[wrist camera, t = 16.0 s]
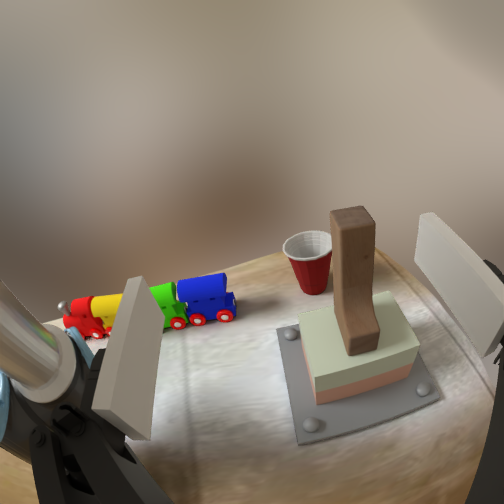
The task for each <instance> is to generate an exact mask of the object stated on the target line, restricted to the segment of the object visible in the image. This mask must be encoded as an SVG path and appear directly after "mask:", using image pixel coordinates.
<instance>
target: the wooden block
mask: <svg viewBox="0 0 504 504" xmlns="http://www.w3.org/2000/svg"><path fill="white" fill-rule="evenodd" d="M330 226H331V242H332V260H333V286H334V313H335V316H336V319H337V323H338V326H339V329H340V332H341V336H342V339H343V342H344V346H345V349H346V352H347V355H348V356H353V355H357V354H361V353H365V352H369V351H373V350H376V349H377V346H378V342H379V336H380V327H379V324H378V321H377V319H376V316H375V311H374V305H373V299H372V282H373V269H374V252H375V221H374V220H373V218H372V217H371V216H370V214H369V213H368V212H367V211H366V209H365V208H364V207H363V206H357V207H350V208H344V209H339V210H333V211H330Z"/></svg>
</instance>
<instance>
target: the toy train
mask: <svg viewBox="0 0 504 504" xmlns="http://www.w3.org/2000/svg"><path fill="white" fill-rule="evenodd" d="M226 285H227V277H226V274H225V273H219V274H213V275H207V276H202V277H196V278H190V279H184V280H179V281H178V283H177V293H178V298H179V301H177V300H176V285H175V283H174V282H170V283H166V284H162V285H158V286H155V287H151V288H149V289H150V291H151V293H152V295H153V296H154V298H155V300H156V302H157V304H158V305H159V307H160V309H161V311H162V312H163V314H164V316H165V320H164V327H163V328H167V327H172V328H173V329H176V330H179V329H183V328H184V327H185V325H186V323H188V317H189V319H190V322H191V323H192V324H193V325H195V326H201V325H204V324H205V322H206V320H211V319H218V320H219V321H221V322H230V321H231V320H232V319H233V316H236V300H235V297H234V294H233V292H229V293H228V292H226ZM122 295H123V294H115V295H107V296H98V297H94V296H90V297H85V298H80V299H75V300H73V301H72V303H71V312H70V310H69V308H68V304H67V302H66V301H62V302H60V303H59V305H58V309H59V310H60V311H62V312H63V313H64V317H63V323H64V326H65V327H66V329H67V328H68V329H69V328H70V327H76V328H77V329H78V331H79V332H80V334H81V336H82V337H83V339H85V336H92V337H93V338H95V339H101V338H102V337H103V334H107V335H108V336H109V337H110V333H111V330H112V327H113V323H114V320H115V317H116V314H117V311H118V308H119V304H120V301H121V298H122ZM185 302H187V304H188V306H187V305H186V303H185Z"/></svg>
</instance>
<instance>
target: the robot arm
mask: <svg viewBox="0 0 504 504" xmlns="http://www.w3.org/2000/svg"><path fill="white" fill-rule="evenodd" d="M414 261H415V262H416V263H417V264H418V266H419V267H420V269H421V270H422V271H423V272H424V274H425V275H426V276H427V277H428V279H429V280H430V282H431V283H432V284H433V286H434V287H435V288H436V290H437V291H438V293H439V294H440V295H441V297H442V298H443V300H444V301H445V302H446V304H447V305H448V307H449V308H450V310H451V311H452V312H453V314H454V315H455V317H456V318H457V320H458V321H459V323H460V324H461V326H462V327H463V329H464V330H465V332H466V334H467V335H468V337H469V338H470V340H471V341H472V343H473V345H474V346H475V348H476V350H477V351H478V353H479V354H480V356H481V358H484V357H485V356H487V355H489V354H491V353H492V352H494V351H495V349H496V348H497V346H498V344H499V343H501V345H502V346H503V348H502V349H501V351H500V353H499V354H498V355H497V357H496V358H495V360H494V364H496V363H497V361H498V360H499V358H500V363H499V364H498V365H499V373H498V382H497V388H496V395H495V401H494V406H493V412H492V417H491V421H490V426H489V430H488V434H487V438H486V442H485V446H484V450H483V453H482V457H481V460H480V463H479V466H478V469H477V472H476V475H475V478H474V481H473V484H472V486H471V489H470V492H469V494H468V497H467V499H466V502H465V504H504V275H502V272H501V271H500V270H499V269H498V268H497V267H496V266H495V265H494V264H492V263H491V262H489V261H487V260H483V261H482V260H481V258H480V257H479V256H478V255H477V254H476V253H475V252H474V251H473V250H472V249H471V248H470V247H469V246H468V245H467V244H466V243H465V242H464V241H463V240H462V239H461V238H460V237H459V236H458V235H457V234H456V233H454V231H453V230H451V228H449V227H448V226H447V225H446V224H445V223H444V222H443V221H442V220H441V219H439V217H438V216H436V215H435V214H434V213H433V212H429V213H425V214H421V215H420V221H419V231H418V238H417V245H416V252H415V259H414ZM164 320H165V316H164V314H163V312H162V311H161V309H160V307H159V305H158V304H157V302H156V300H155V298H154V296H153V295H152V293H151V291H150V289H149V287H148V285H147V283H146V282H145V280H144V278H143V276H139V277H135V278H130V279H128V281H127V284H126V287H125V290H124V293H123V295H122V298H121V301H120V304H119V308H118V311H117V314H116V317H115V320H114V323H113V327H112V330H111V333H110V337H109V340H108V344H107V347H106V348H105V349H99V350H98V352H97V353H96V355H95V356H94V355H93V353H92V351H91V350H90V348H89V347H88V345H87V344H86V342H85V340H84V339H83V337H82V336H81V334H80V332H79V331H78V329H77V328H76V327H70V328H69V329H68V328H67V329H65V330H64V331H63V330H61V329H60V328H58V327H56V326H54V325H50V324H41V323H40V322H39V321H38V320H37V319H36V318H35V317H34V316H33V315H32V314H31V313H30V312H29V311H28V310H27V309H26V308H25V307H24V305H23V304H22V303H21V302H20V301H19V300H18V299H17V298H16V297H15V296H14V294H13V293H12V292H11V291H10V290H9V289H8V288H7V286H6V285H5V284H4V283H3V282H2V280H1V279H0V447H1V448H3V449H5V450H6V451H8V452H10V453H11V454H13V455H15V456H16V457H18V458H20V459H22V460H24V461H25V462H27V463H29V464H31V465H32V469H33V475H34V480H35V485H36V490H37V495H38V499H39V503H40V504H174V503H173V502H172V501H171V499H170V498H169V497H168V496H167V495H166V494H165V492H164V491H163V490H162V489H161V488H160V487H159V485H158V484H157V483H156V482H155V480H154V479H153V478H152V477H151V475H150V474H149V473H148V471H147V470H146V469H145V468H144V466H143V465H142V464H141V462H140V461H139V460H138V458H137V457H136V455H135V454H134V453H133V451H132V450H131V448H130V447H129V445H128V444H127V443H126V442H125V435H126V436H128V437H129V438H131V439H132V440H150V437H151V425H152V414H153V403H154V394H155V385H156V377H157V369H158V361H159V354H160V347H161V340H162V333H163V327H164Z"/></svg>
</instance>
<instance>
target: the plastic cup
mask: <svg viewBox="0 0 504 504" xmlns="http://www.w3.org/2000/svg"><path fill="white" fill-rule="evenodd" d="M283 252H284V253H285V254H286V256H287V257H288V258H289V260H290V262H291V264H292V267H293V270H294V272H295V275H296V278H297V280H298V282H299V284H300V287H301V289H302V290H303V292H304V293H306V294H309V295H317V294H320V293H322V292H323V291H324V290H325V288H326V285H327V281H328V276H329V270H330V262H331V256H332V242H331V235H330V234H329V233H326V232H323V231H306V232H301V233H299V234H296V235H294V236H292V237H291V238H289V239H287V240H286V242H285V243H284V244H283Z"/></svg>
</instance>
